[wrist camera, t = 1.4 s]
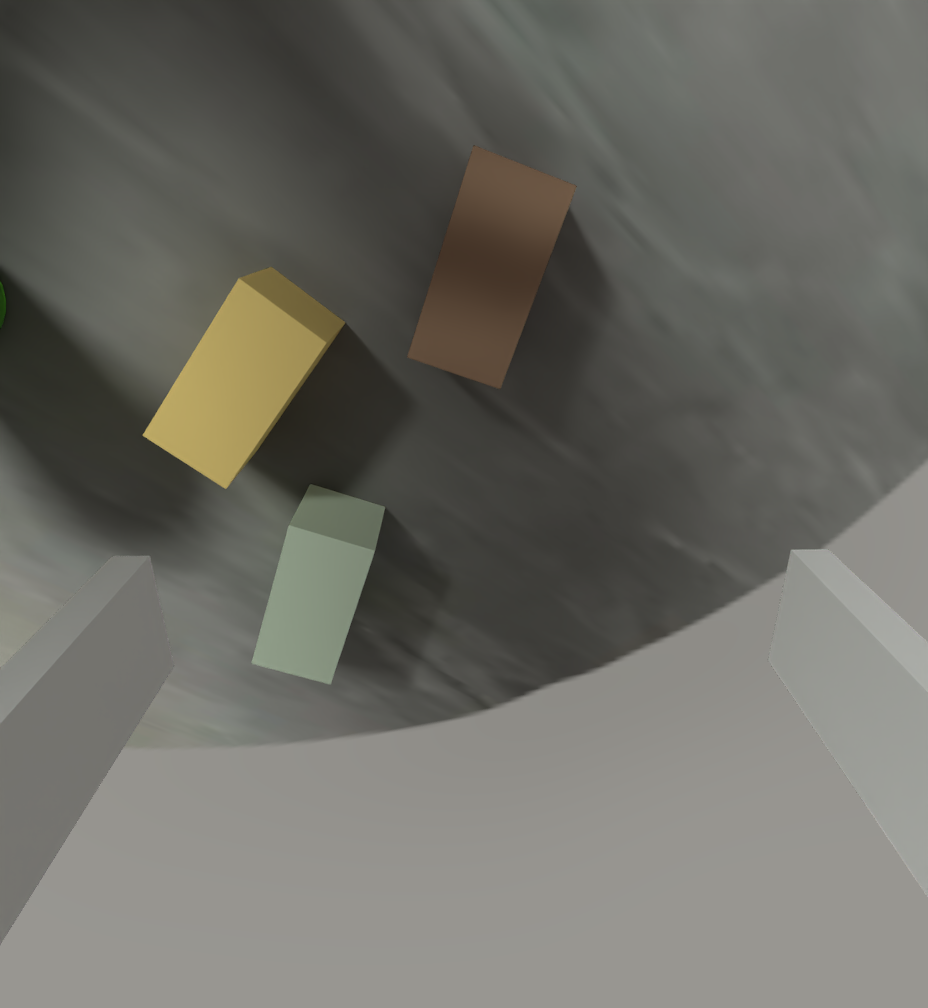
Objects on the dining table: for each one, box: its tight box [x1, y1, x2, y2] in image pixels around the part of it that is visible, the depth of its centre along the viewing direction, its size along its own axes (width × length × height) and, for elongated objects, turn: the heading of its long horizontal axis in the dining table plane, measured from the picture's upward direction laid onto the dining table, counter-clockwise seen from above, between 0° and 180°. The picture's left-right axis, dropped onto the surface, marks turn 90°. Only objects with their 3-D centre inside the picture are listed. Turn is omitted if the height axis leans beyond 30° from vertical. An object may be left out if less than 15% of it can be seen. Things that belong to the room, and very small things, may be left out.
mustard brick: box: [142, 267, 345, 489], centre depth 30 cm, size 8×4×5 cm, turn 142°
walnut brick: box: [407, 145, 577, 389], centre depth 28 cm, size 8×4×5 cm, turn 161°
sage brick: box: [251, 484, 385, 685], centre depth 34 cm, size 8×4×5 cm, turn 161°
